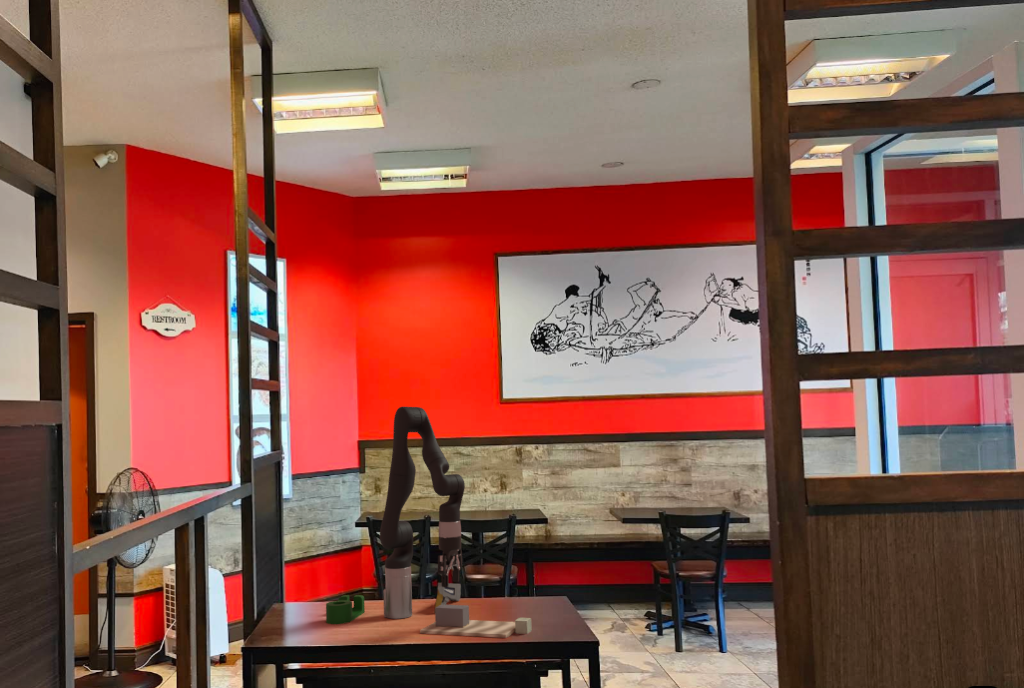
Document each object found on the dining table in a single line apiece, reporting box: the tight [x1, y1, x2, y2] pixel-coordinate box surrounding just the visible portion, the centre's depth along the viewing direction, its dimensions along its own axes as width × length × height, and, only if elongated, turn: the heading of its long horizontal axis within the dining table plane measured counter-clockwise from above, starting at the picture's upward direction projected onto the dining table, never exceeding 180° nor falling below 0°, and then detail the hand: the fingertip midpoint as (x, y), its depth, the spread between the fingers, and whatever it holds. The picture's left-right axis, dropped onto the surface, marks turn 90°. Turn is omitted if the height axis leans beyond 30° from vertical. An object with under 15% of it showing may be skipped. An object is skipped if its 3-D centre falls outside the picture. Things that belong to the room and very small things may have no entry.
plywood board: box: [419, 619, 516, 639], centre depth 259 cm, size 30×16×1 cm, turn 70°
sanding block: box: [434, 604, 470, 628], centre depth 262 cm, size 10×5×6 cm, turn 70°
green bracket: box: [325, 594, 366, 625], centre depth 284 cm, size 18×9×6 cm, turn 171°
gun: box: [434, 582, 462, 609], centre depth 297 cm, size 3×25×15 cm, turn 166°
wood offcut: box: [514, 617, 532, 635], centre depth 253 cm, size 4×4×4 cm
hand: (450, 584), depth 263 cm, fingers open, 8 cm apart
